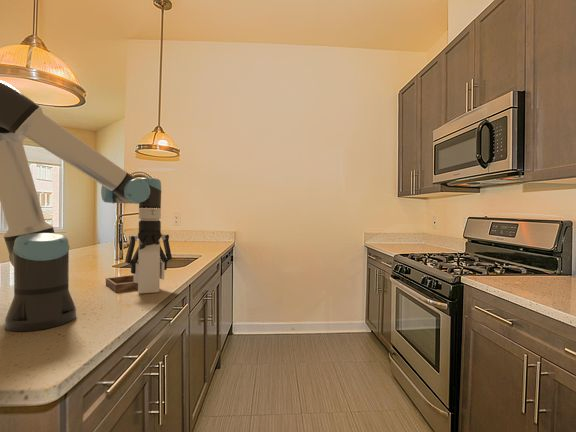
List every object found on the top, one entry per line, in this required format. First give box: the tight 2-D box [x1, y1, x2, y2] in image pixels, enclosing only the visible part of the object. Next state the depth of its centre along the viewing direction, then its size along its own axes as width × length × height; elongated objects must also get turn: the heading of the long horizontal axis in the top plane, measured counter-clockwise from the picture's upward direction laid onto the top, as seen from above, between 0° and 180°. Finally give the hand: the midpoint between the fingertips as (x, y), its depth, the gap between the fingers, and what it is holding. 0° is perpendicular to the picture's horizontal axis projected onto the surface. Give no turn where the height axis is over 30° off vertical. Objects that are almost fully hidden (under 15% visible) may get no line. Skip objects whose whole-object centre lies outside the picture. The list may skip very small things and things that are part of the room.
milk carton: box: [137, 239, 161, 294], centre depth 118 cm, size 7×7×19 cm
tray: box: [105, 274, 138, 293], centre depth 126 cm, size 14×14×3 cm
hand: (149, 280), depth 118 cm, fingers closed on milk carton, 9 cm apart
